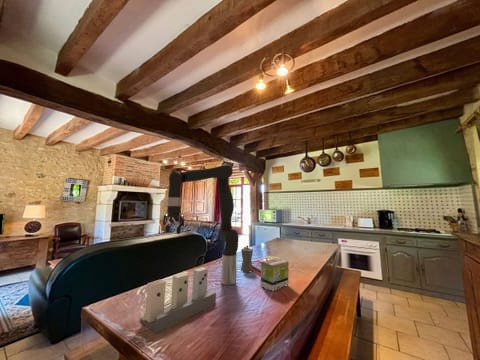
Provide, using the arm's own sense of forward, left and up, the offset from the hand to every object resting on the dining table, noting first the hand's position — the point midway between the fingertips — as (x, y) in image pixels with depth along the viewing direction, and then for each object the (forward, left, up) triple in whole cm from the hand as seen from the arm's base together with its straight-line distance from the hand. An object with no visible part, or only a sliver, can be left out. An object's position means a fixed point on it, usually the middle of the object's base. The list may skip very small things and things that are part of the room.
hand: (172, 233), depth 116 cm
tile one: (-1, +30, -30) cm, 42 cm away
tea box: (-62, -3, -32) cm, 70 cm away
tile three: (-18, +13, -30) cm, 37 cm away
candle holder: (-66, -22, -32) cm, 76 cm away
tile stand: (-11, +22, -31) cm, 40 cm away
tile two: (-10, +21, -30) cm, 38 cm away
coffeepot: (-49, -35, -32) cm, 68 cm away
